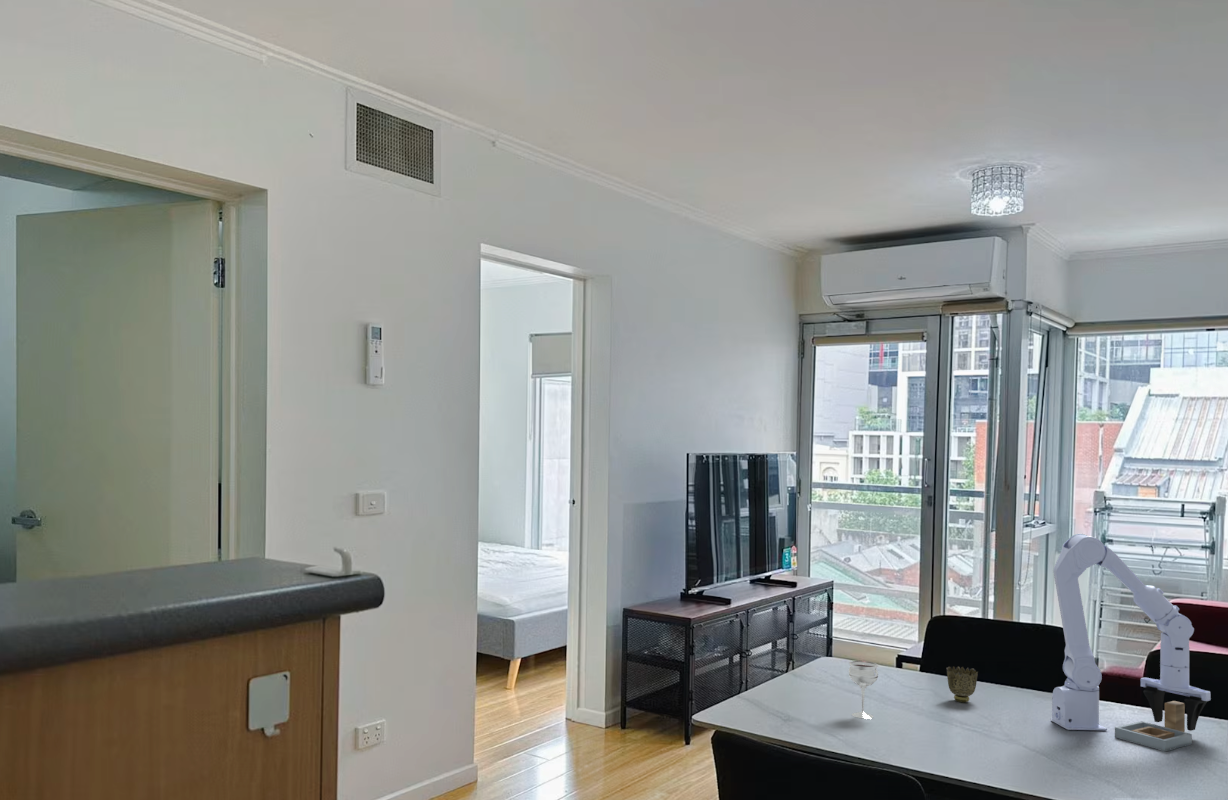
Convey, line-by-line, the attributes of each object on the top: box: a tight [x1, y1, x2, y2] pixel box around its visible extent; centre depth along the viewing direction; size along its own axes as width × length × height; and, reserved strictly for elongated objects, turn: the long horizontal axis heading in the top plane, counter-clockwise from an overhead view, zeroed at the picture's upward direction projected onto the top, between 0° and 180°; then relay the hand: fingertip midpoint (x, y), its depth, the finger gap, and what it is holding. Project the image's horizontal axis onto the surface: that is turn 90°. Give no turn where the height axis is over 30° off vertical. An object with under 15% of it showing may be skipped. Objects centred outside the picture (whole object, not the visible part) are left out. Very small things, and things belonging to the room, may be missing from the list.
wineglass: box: [848, 660, 879, 720], centre depth 224 cm, size 7×7×12 cm
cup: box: [946, 666, 979, 704], centre depth 240 cm, size 8×7×8 cm
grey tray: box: [1114, 720, 1193, 752], centre depth 211 cm, size 11×11×2 cm
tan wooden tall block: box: [1164, 700, 1186, 732], centre depth 217 cm, size 2×4×7 cm, turn 122°
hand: (1174, 725), depth 217 cm, fingers open, 7 cm apart
